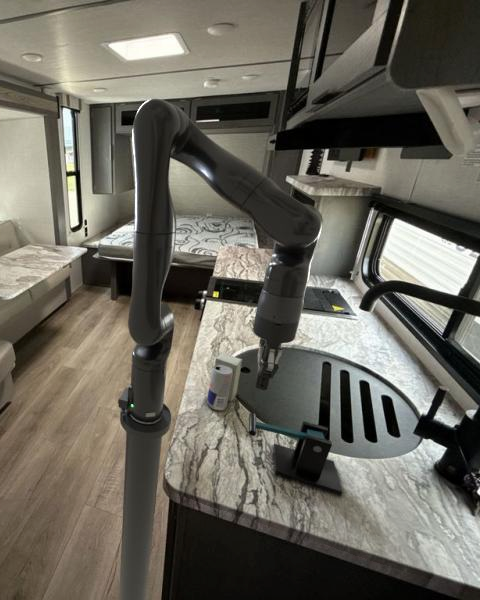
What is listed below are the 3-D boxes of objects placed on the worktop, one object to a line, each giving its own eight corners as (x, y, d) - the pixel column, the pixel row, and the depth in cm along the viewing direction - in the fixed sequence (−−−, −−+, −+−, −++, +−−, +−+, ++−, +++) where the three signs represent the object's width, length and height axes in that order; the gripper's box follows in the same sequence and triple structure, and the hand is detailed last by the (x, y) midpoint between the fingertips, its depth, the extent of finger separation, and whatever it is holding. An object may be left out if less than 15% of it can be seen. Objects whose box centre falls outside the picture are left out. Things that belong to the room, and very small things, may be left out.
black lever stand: (275, 474, 66) (286, 436, 62) (273, 447, 73) (283, 411, 69) (340, 496, 62) (357, 456, 58) (332, 465, 69) (346, 427, 65)
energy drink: (209, 396, 90) (214, 361, 86) (228, 402, 88) (234, 366, 83) (204, 406, 86) (210, 370, 82) (224, 413, 84) (231, 377, 79)
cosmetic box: (236, 394, 91) (243, 359, 86) (231, 402, 88) (238, 366, 83) (215, 385, 95) (221, 351, 90) (209, 392, 92) (215, 357, 87)
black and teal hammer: (248, 436, 67) (249, 428, 66) (248, 418, 72) (249, 410, 71) (324, 456, 62) (326, 446, 61) (318, 434, 67) (321, 426, 66)
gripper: (256, 298, 66) (242, 367, 72) (257, 323, 55) (240, 401, 61) (295, 304, 63) (278, 374, 70) (305, 331, 52) (283, 412, 58)
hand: (260, 387), depth 65 cm, fingers closed
